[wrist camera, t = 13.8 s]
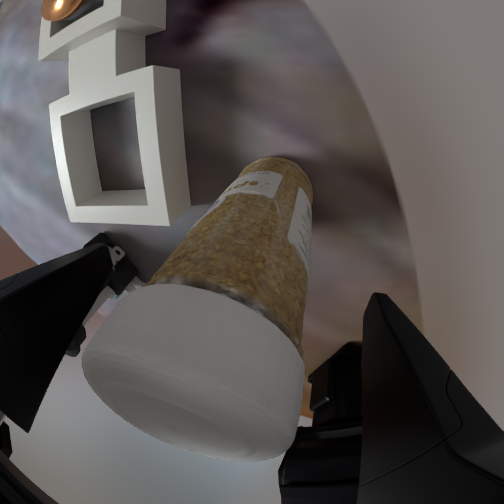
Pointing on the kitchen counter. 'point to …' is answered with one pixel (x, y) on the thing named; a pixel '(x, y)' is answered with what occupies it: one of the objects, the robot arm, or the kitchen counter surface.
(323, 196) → the kitchen counter surface
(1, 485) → the robot arm
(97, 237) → the push button
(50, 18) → the copper and black cylinder
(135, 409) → the sprinkles bottle
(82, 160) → the housing
